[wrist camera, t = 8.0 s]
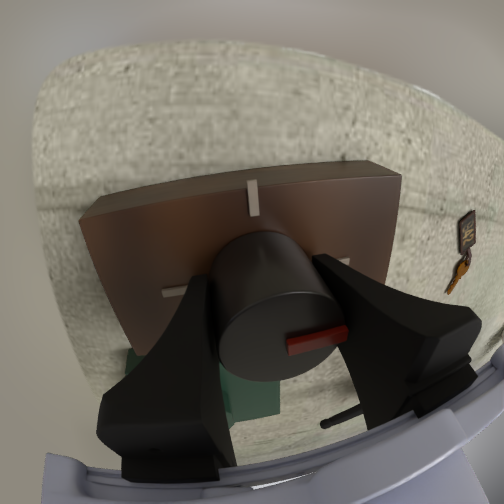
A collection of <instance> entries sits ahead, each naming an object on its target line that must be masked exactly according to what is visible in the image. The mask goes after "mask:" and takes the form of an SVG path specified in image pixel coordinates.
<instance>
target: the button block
mask: <svg viewBox="0 0 504 504" xmlns="http://www.w3.org/2000/svg"><path fill="white" fill-rule="evenodd" d="M145 356H146V355H141V356H137V355H136V353H135V351H134V349H129V350H128V355H127V362H126V368H125V375H128V374H129V373H130V372H131V371H132V370H133V369H134V368H135V367H136V366H137V365H138V364H139V363H140V362H141V361H142V359H143V358H144V357H145ZM219 366H220V381H221V388H222V394H223V400H224V406H225V411H226V416H227V422H228V427H229V429H230V428H231V427H232V426H233V425H234V423H235V422H241V421H247V420H252V419H257V418H262V417H267V416H272V415H276V414H280V381H274V382H254V381H248V380H244V379H241V378H239V377H236V376H234V375H233V374H231V373H230V372H228V371H227V370H226V369H225V368H224V367H223V365H222V364H221V362H220V361H219Z"/></svg>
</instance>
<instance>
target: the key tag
mask: <svg viewBox="0 0 504 504" xmlns="http://www.w3.org/2000/svg"><path fill="white" fill-rule="evenodd" d="M459 224H460V255H463V254H464V253H465V252H466V258H465V261H463V262H462V263H461V264H460V265H459V267H458V269H457V275H456V276H455V278H456V279H455V280H454V281H453V284H451V285H450V288H449V289H448V291H447V294H448V295H449V294H450V293H451V291H452V290H453V288H454V287H455V285H456V284H457V282H458V280H459V279H461V276H463V275H464V274H465V273H466V272H467V270H468V269H469V266H470V263H471V257H472V254H471V250H470V247H472V246H473V245H474V244H475V243H476V218H475V210H473V211H472V212H471V213H470V214H468V215H467V216H466V217H465V218H464V219H463V220H461V221H460V222H459ZM468 257H469V259H468Z"/></svg>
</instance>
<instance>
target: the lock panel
mask: <svg viewBox="0 0 504 504" xmlns="http://www.w3.org/2000/svg"><path fill="white" fill-rule="evenodd" d="M401 180H402V175H401V174H399V173H396V172H394V171H392V170H390V169H387V168H385V167H383V166H380V165H378V164H376V163H373V162H371V161H368V160H365V161H340V162H322V163H308V164H295V165H284V166H274V167H265V168H256V169H248V170H240V171H232V172H225V173H218V174H212V175H205V176H199V177H193V178H187V179H181V180H176V181H170V182H165V183H160V184H155V185H150V186H145V187H140V188H135V189H131V190H126V191H122V192H118V193H113V194H109V195H105V196H101V197H99V198H98V200H97V201H96V202H95V203H94V204H93V205H92V206H91V207H90V208H89V209H88V210H87V211H86V212H85V214H84V215H83V216H82V217H81V218H80V219H79V224H80V227H81V230H82V233H83V236H84V239H85V242H86V245H87V248H88V250H89V253H90V256H91V258H92V261H93V264H94V266H95V269H96V271H97V274H98V276H99V278H100V281H101V283H102V286H103V288H104V290H105V292H106V295H107V297H108V299H109V301H110V304H111V306H112V308H113V310H114V312H115V314H116V316H117V318H118V320H119V322H120V324H121V326H122V328H123V330H124V332H125V334H126V336H127V338H128V340H129V342H130V344H131V346H132V347H133V349H134V351H135V353H136V355H137V356H141V355H147V354H148V352H149V351H150V350H151V349H152V347H153V346H154V345H155V344H156V342H157V341H158V339H159V338H160V337H161V335H162V334H163V332H164V331H165V329H166V327H167V326H168V324H169V322H170V321H171V319H172V317H173V315H174V314H175V312H176V310H177V308H178V306H179V304H180V302H181V300H182V298H183V295H184V293H185V291H186V288H187V286H188V283H189V280H190V278H191V277H192V276H196V275H202V274H207V277H208V282H209V273H210V269H211V266H212V263H213V262H214V260H215V258H216V257H217V255H218V254H219V252H220V251H221V250H222V249H223V248H224V247H225V246H227V245H228V244H229V243H230V242H232V241H234V240H235V239H237V238H239V237H241V236H244V235H247V234H250V233H255V232H275V233H279V234H283V235H285V236H287V237H290V238H291V239H293V240H294V241H295V242H296V243H298V244H299V246H300V247H301V248H302V249H303V251H304V252H305V254H306V255H307V256H308V258H309V259H310V261H311V262H312V255H318V254H324V253H326V254H328V255H330V256H332V257H333V258H335V259H337V260H339V261H341V262H342V263H344V264H346V265H348V266H349V267H351V268H353V269H355V270H356V271H358V272H360V273H362V274H364V275H366V276H368V277H369V278H371V279H373V280H375V281H378V282H380V283H382V284H384V285H385V281H386V277H387V272H388V267H389V262H390V257H391V252H392V246H393V241H394V235H395V229H396V222H397V215H398V207H399V199H400V190H401Z"/></svg>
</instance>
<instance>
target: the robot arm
mask: <svg viewBox="0 0 504 504" xmlns="http://www.w3.org/2000/svg"><path fill="white" fill-rule="evenodd" d="M312 264H313V265H314V267H315V268H316V270H317V271H318V273H319V274H320V276H321V277H322V278H323V280H324V281H325V283H326V284H327V286H328V287H329V289H330V290H331V292H332V293H333V295H334V296H335V298H336V299H337V301H338V303H339V304H340V306H341V307H342V309H343V311H344V315H345V325H346V326H347V328H348V330H349V332H348V336H347V340H346V341H344V342H341V343H339V344H338V348H339V350H340V352H341V354H342V356H343V358H344V361H345V363H346V366H347V368H348V370H349V373H350V375H351V378H352V381H353V384H354V386H355V389H356V392H357V395H358V398H359V401H360V404H361V407H362V410H363V414H364V418H365V421H366V425H367V429H368V431H366V432H363V433H361V434H358V435H356V436H353V437H351V438H348V439H345V440H342V441H339V442H336V443H333V444H330V445H327V446H324V447H321V448H318V449H314V450H311V451H307V452H304V453H300V454H296V455H292V456H288V457H284V458H280V459H275V460H271V461H266V462H260V463H255V464H249V465H243V466H237V463H236V459H235V455H234V450H233V446H232V441H231V436H230V432H229V427H228V422H227V416H226V411H225V406H224V400H223V394H222V388H221V381H220V366H219V358H218V356H217V349H216V341H215V333H214V325H213V316H212V307H211V296H210V287H209V282H208V277H207V274H202V275H196V276H192V277H191V278H190V280H189V283H188V286H187V288H186V291H185V293H184V295H183V298H182V300H181V302H180V304H179V306H178V308H177V310H176V312H175V314H174V315H173V317H172V319H171V321H170V322H169V324H168V326H167V327H166V329H165V331H164V332H163V334H162V335H161V337H160V338H159V339H158V341H157V342H156V344H155V345H154V346H153V347H152V349H151V350H150V351H149V352H148V354H147V355H146V356H145V357H144V358H143V359H142V361H141V362H140V363H139V364H138V365H137V366H136V367H135V368H134V369H133V370H132V371H131V372H130V373H129V374H128V375H126V376H125V377H124V378H123V379H122V380H121V381H120V382H118V383H117V384H116V385H115V386H113V387H112V388H111V389H110V390H109V391H107V392H106V393H105V394H103V397H102V401H101V404H100V408H99V414H98V422H97V430H96V434H97V436H98V438H99V439H100V440H101V441H102V442H103V443H104V444H105V445H106V446H107V447H109V448H110V449H111V450H113V451H114V452H116V453H117V454H118V455H120V456H121V457H122V464H121V470H111V469H101V468H94V467H87V466H86V465H85V464H83V463H82V462H80V461H78V460H76V459H74V458H71V457H67V456H61V455H56V454H52V453H47V454H46V458H45V466H44V475H43V484H42V497H41V504H489V501H488V499H487V497H486V495H485V493H484V491H483V489H482V486H481V484H480V483H479V481H478V478H477V477H476V474H475V473H474V471H473V469H472V467H471V465H470V463H469V461H468V459H467V457H466V456H465V454H464V452H463V450H462V449H461V447H463V446H464V445H465V444H466V443H468V442H469V441H471V440H472V439H473V438H474V437H475V436H477V435H478V434H479V433H480V432H481V431H483V430H484V429H485V428H486V427H487V426H488V425H489V424H491V423H492V422H493V421H494V420H495V419H496V418H497V417H498V416H499V415H500V414H501V413H502V412H503V411H504V343H503V344H502V345H501V346H500V347H499V348H498V349H497V350H496V351H495V353H494V354H493V356H492V357H491V359H490V361H489V362H487V363H486V364H485V365H483V366H482V367H481V368H479V369H478V370H477V371H474V370H473V368H472V367H471V366H470V364H469V363H470V362H471V361H472V360H471V357H470V356H469V355H468V352H469V350H470V349H471V347H472V345H473V344H474V342H475V340H476V338H477V337H478V335H479V333H480V330H481V326H482V321H481V319H480V318H479V317H478V316H477V315H476V314H475V313H474V312H473V311H472V310H471V309H470V308H469V307H466V306H458V305H450V304H444V303H439V302H434V301H430V300H426V299H422V298H419V297H416V296H413V295H409V294H406V293H404V292H401V291H398V290H396V289H393V288H391V287H388V286H386V285H384V284H382V283H380V282H378V281H375V280H373V279H371V278H369V277H368V276H366V275H364V274H362V273H360V272H358V271H356V270H355V269H353V268H351V267H349V266H348V265H346V264H344V263H342V262H341V261H339V260H337V259H335V258H333V257H332V256H330V255H328V254H326V253H324V254H318V255H312ZM313 472H314V473H313ZM310 473H311V474H310ZM306 474H308V475H306ZM302 475H305V476H302ZM299 476H302V477H300V478H296V479H293V480H289V481H286V482H283V483H279V484H276V485H271V486H267V487H264V488H259V489H255V490H253V488H251V487H252V486H257V485H263V484H268V483H273V482H278V481H282V480H286V479H291V478H295V477H299Z"/></svg>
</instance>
